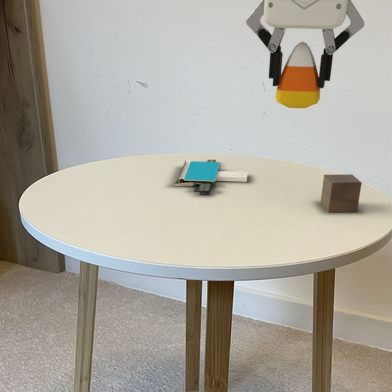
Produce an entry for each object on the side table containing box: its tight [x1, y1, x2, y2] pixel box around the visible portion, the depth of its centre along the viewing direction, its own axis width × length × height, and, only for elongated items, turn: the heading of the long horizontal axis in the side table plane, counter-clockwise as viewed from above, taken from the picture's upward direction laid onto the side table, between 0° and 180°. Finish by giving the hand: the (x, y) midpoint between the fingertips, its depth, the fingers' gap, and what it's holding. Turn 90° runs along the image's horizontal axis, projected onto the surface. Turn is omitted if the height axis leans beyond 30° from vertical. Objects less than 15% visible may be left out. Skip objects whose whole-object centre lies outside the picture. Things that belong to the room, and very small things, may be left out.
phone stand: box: [174, 159, 248, 196], centre depth 103 cm, size 20×12×2 cm, turn 175°
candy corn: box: [275, 41, 321, 109], centre depth 80 cm, size 6×3×8 cm, turn 83°
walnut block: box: [320, 173, 363, 213], centre depth 90 cm, size 4×4×4 cm
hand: (298, 84), depth 80 cm, fingers closed on candy corn, 5 cm apart
